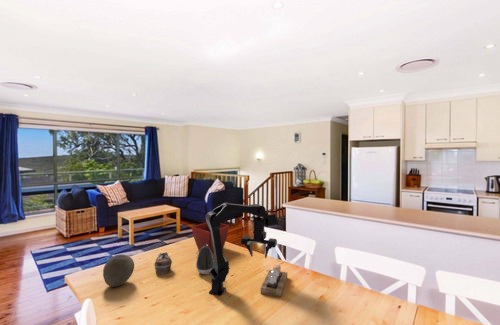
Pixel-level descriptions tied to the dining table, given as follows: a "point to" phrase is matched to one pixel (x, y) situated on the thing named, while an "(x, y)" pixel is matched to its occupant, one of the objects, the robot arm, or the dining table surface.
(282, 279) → the brown wooden tray
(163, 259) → the cupcake
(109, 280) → the dark grey stone
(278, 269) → the peach egg-shaped piece
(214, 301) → the dining table surface
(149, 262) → the dining table surface
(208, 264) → the dark grey ovoid piece
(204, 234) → the plant pot
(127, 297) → the dining table surface
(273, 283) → the plug metal near
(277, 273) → the plug metal mid
